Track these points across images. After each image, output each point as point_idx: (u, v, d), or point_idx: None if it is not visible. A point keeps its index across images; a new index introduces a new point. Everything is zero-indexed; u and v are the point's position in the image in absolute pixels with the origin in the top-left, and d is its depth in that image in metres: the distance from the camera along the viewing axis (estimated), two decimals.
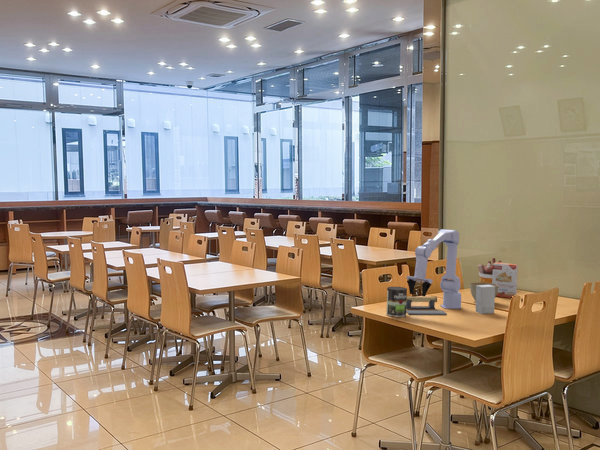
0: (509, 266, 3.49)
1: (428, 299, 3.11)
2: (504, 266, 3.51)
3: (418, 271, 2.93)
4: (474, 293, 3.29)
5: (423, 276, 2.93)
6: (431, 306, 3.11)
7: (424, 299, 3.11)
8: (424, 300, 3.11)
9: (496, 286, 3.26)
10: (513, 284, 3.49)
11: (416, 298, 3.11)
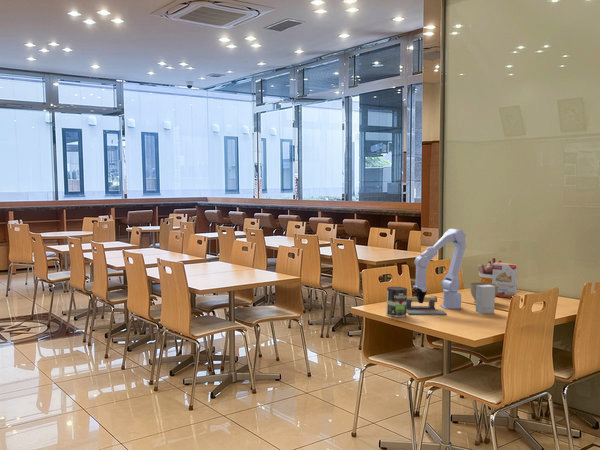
0: (509, 266, 3.49)
1: (428, 299, 3.11)
2: (504, 266, 3.51)
3: (416, 280, 3.11)
4: (474, 293, 3.29)
5: (420, 285, 3.09)
6: (431, 306, 3.11)
7: (424, 299, 3.11)
8: (424, 300, 3.11)
9: (496, 286, 3.26)
10: (513, 284, 3.49)
11: (416, 298, 3.11)
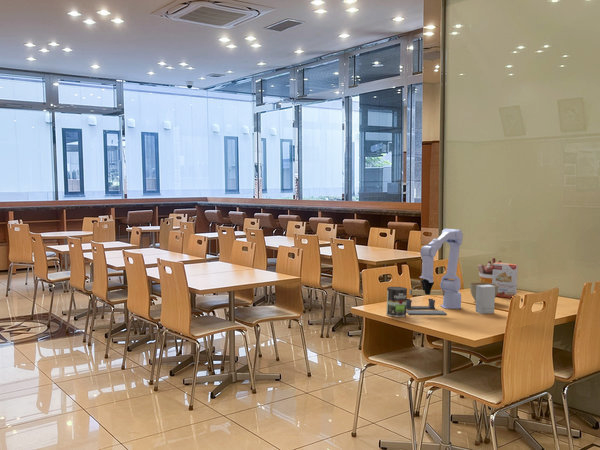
0: (509, 266, 3.49)
1: (435, 292, 2.99)
2: (504, 266, 3.51)
3: (422, 271, 2.98)
4: (474, 293, 3.29)
5: (427, 275, 2.96)
6: (431, 306, 3.11)
7: (431, 292, 2.99)
8: (431, 293, 2.99)
9: (496, 286, 3.26)
10: (513, 284, 3.49)
11: (423, 291, 2.98)
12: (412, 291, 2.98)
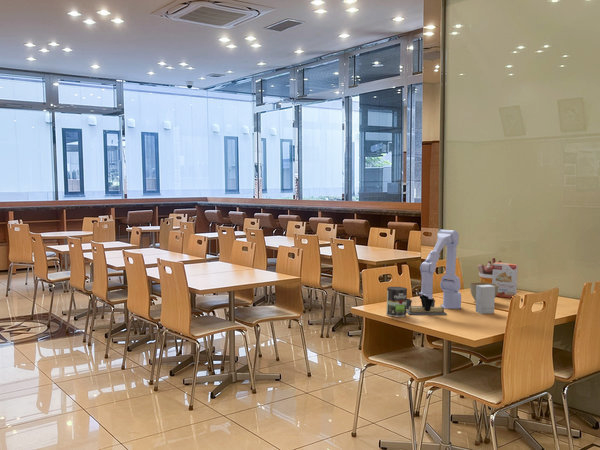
0: (509, 266, 3.49)
1: (434, 309, 2.99)
2: (504, 266, 3.51)
3: (422, 287, 2.99)
4: (474, 293, 3.29)
5: (426, 292, 2.97)
6: (431, 306, 3.11)
7: (430, 309, 2.99)
8: (430, 310, 2.99)
9: (496, 286, 3.26)
10: (513, 284, 3.49)
11: (422, 308, 2.99)
12: (411, 308, 2.99)
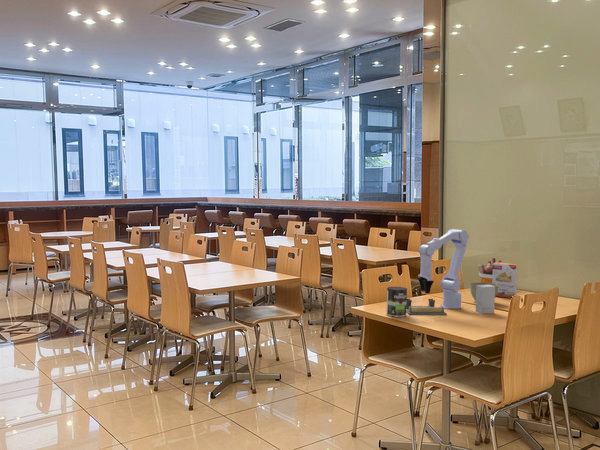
0: (509, 266, 3.49)
1: (434, 309, 2.99)
2: (504, 266, 3.51)
3: (421, 269, 3.05)
4: (474, 293, 3.29)
5: (425, 274, 3.03)
6: (431, 306, 3.11)
7: (430, 309, 2.99)
8: (430, 310, 2.99)
9: (496, 286, 3.26)
10: (513, 284, 3.49)
11: (422, 308, 2.99)
12: (411, 308, 2.99)
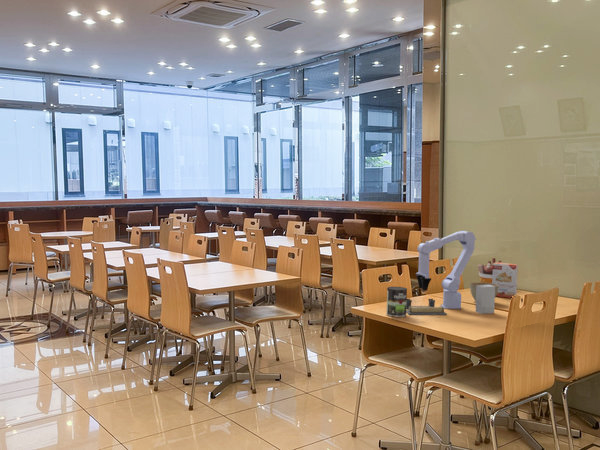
0: (509, 266, 3.49)
1: (434, 309, 2.99)
2: (504, 266, 3.51)
3: (419, 267, 3.12)
4: (474, 293, 3.29)
5: (423, 271, 3.11)
6: (431, 306, 3.11)
7: (430, 309, 2.99)
8: (430, 310, 2.99)
9: (496, 286, 3.26)
10: (513, 284, 3.49)
11: (422, 308, 2.99)
12: (411, 308, 2.99)
